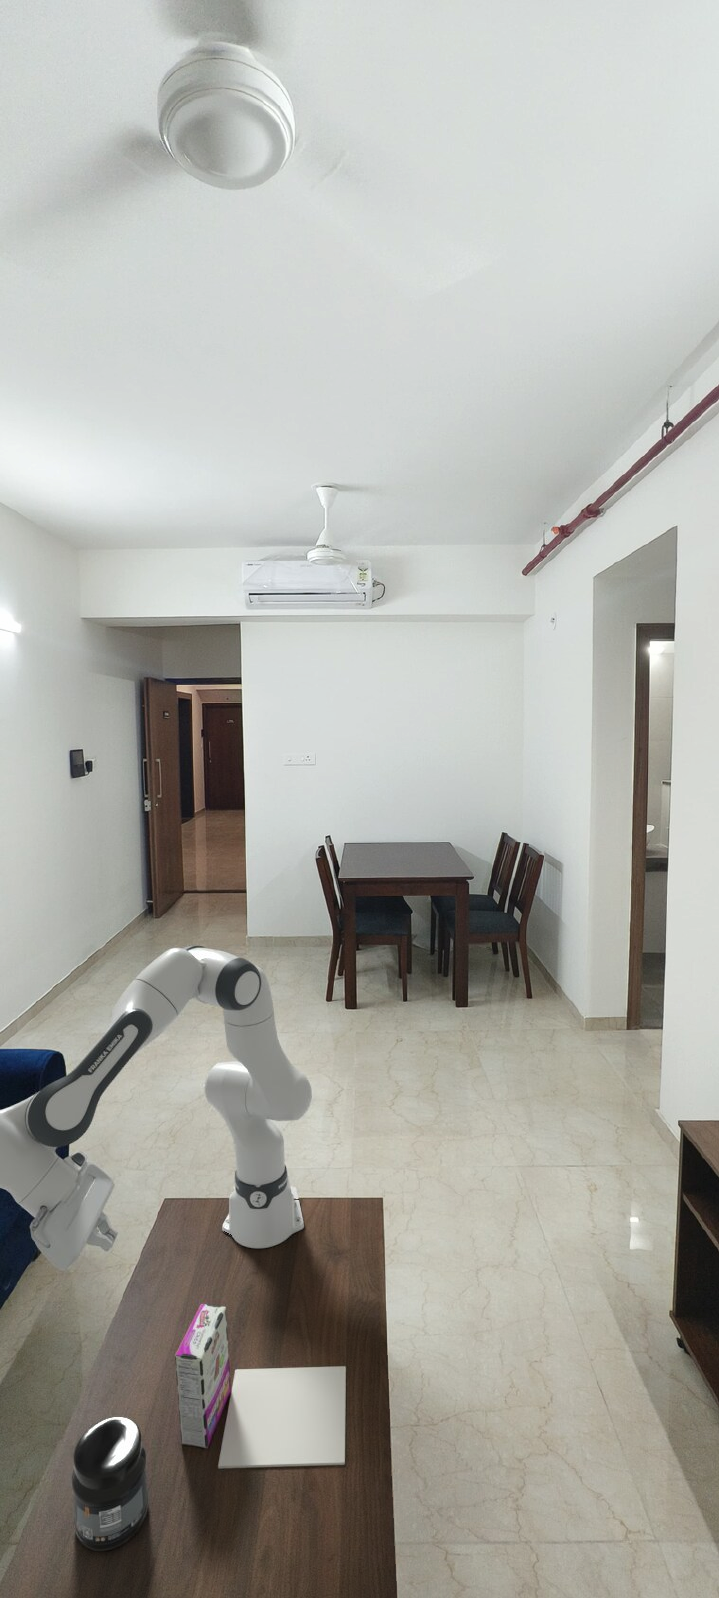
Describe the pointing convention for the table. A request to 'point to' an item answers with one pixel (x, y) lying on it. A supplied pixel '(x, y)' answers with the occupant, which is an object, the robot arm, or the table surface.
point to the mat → (285, 1418)
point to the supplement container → (109, 1484)
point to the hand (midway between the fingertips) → (113, 1242)
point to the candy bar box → (203, 1375)
